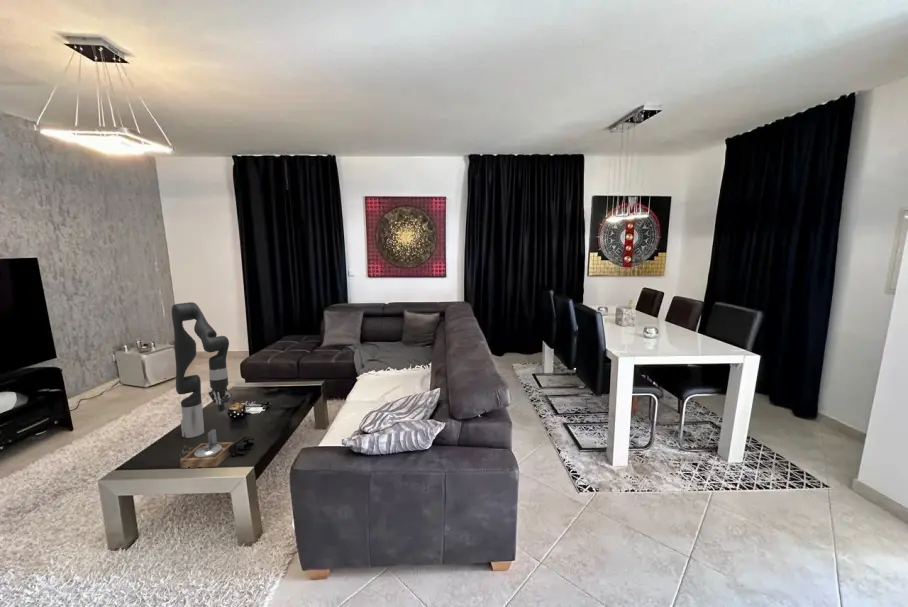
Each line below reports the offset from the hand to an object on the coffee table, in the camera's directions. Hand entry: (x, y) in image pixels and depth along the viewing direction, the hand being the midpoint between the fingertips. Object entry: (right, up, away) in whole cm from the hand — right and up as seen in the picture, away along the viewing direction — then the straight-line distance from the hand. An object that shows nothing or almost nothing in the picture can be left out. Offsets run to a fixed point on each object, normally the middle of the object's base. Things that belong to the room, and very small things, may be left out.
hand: (221, 411), depth 181 cm
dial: (-5, -20, -2) cm, 21 cm away
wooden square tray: (-5, -23, -2) cm, 23 cm away
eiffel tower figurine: (-17, -23, +1) cm, 29 cm away
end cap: (+8, -22, +4) cm, 24 cm away
